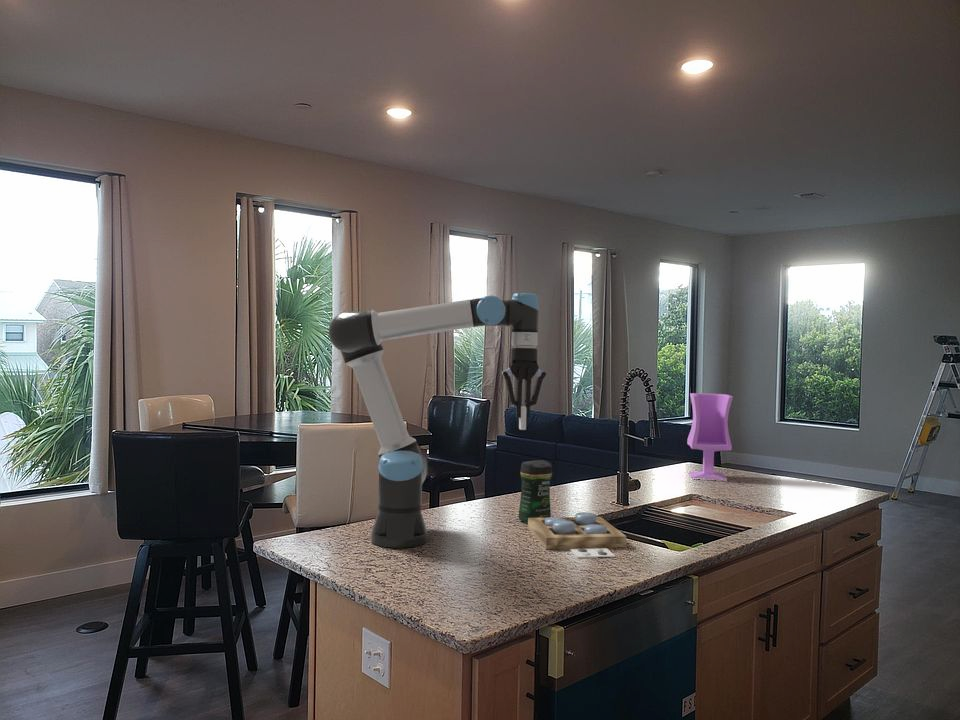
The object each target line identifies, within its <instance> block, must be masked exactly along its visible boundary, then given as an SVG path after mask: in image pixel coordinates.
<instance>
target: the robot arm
mask: <svg viewBox="0 0 960 720" xmlns="http://www.w3.org/2000/svg"><path fill="white" fill-rule="evenodd" d="M539 311H540V310H539V297H538V295H537V294H536V293H531V292H530V293H529V292H528V293H527V292H517V293H514V294H513V295H512V297H511V299H508V300H507V299H506V300H505V299H504V300H503V299H501V298H500V297H499V296H496V295H485V296H484V297H478V298H472V299H465V300H464V299H463V300H457V301H452V302H446V303H445V302H444V303H437V304H430V305H423V306H416V307H410V308H403V309H396V310H389V311H383V312H377V311H376V310H375V309H369V310H360V311H359V310H358V311H357V310H355V311H353V310H346V311H342V312H340V313H338V314H337V315H336V316H334V317H333V318H332V320H331V321H330V324H329V328H328V336H329V341H330V342H331V344H332V345H333V347H334V348H336V349H337V350H338V351H340V353H341V356H342V359H343V361H344V363H345V365H346V366H347V367H350V368H351V369H352V370H353V372H354V375H355V378H356V382H357V384H358V387H359V390H360V392H361V395H362V398H363V400H364V404H365V406H366V409H367V412H368V414H369V417H370V419H371V423H372V425H373V428H374V430H375V434H376V436H377V439H378V441H379V445H380V448H379V450H378V453H377V454H378V457H379V464H378V467H377V468H378V500H377V501H378V502H377V504H378V507H377V508H378V509H377V514H376V518H375V519H374V520H375V521H374V524H373V527H372V529H371V532H370V533H371V534H370V542H371V543H372V544H374V545H376V546H380V547H384V548H390V549H391V548H392V549H393V548H395V549H399V548H400V549H402V548H403V549H404V548H414V547H419V546H422V545H423V544H425V543H427V541H428V529H427V527H426V524H425V523H426V522H425V520H424V517H423V512H422V504H423V503H422V501H423V500H422V499H423V484H424V482H425V480H426V478H427V475H428V471H429V470H428V462H427V460H426V458H425V456H424V455H423V454H422V452H421V450H420V447H419V444H418V442H417V439H416V438H414V437H412V436H410V434H409V432H408V430H407V429H408V428H407V426H406V423H405V421H404V418H403V416H402V415H403V414H402V412H401V409H400V408H399V405H398V402H397V400H396V396H395V394H394V391H393V387H392V385H391V382H390V379H389V377H388V374H387V371H386V368H385V366H384V364H383V360H382V357H383V354H384V352H385V350H384V348H383V345H382V342H383V341H388V340H395V339H402V338H408V337H409V338H410V337H417V336H421V335H422V336H423V335H428V334H429V335H430V334H436V333H443V332H450V331H451V332H452V331H455V330H456V331H457V330H463V329H469V328H470V329H471V328H476V327H477V328H478V327H479V328H480V327H484V326H486V327H511V346H512V348H511V352H510V353H511V354H510V364H509V366H508V368H507V369H505V370H502V371H501V376H502V377H503V378H504V382H505V387H506V392H507V395H508V399H509V403H510V404H511V405H514V406H515V417H516V418H517V419H518V429H519V430H521V431H526V430H527V419H529V418H531V417H530V416H531V406H535V405H536V404H537V403H538V399H539V394H540V391H541V388H542V383H543V379H545V377H546V376H547V373H546V372H545V371H543V370H541V369H540V367H539V364H538V349H537V348H536V347H538V345H539V344H538V331H539ZM511 375H513V377H514V378H515V384H516V385H515V387H516V388H515V393H514V390H513V389H514V388H513V385H512V384H513V383H512V380H511ZM535 375H536V380H535V384H534V387H533V390H532V379H533V378H534V376H535ZM523 381H524V406H522V405H523V404H522V400H523V399H522V397H523V396H522V395H523ZM531 391H532V393H531Z"/></svg>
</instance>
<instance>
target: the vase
mask: <svg viewBox="0 0 960 720" xmlns="http://www.w3.org/2000/svg"><path fill="white" fill-rule="evenodd" d="M689 395H690V401H691V406H692V407H691V408H692V422H691V423H692V424H691V429H690V431H689V433H688V437H687V440H686V441H687V442H686V443H687V445H688V446H689V447H690V449H691V450H700V451H703V452H702V453H703V454H702V456H703V457H702V471H689V472H688V474H689V473H690V474H691V476H692V477H693V478H705V479H728V478H727V477H726V475H725V474H724V473H723V472H714V467H715V452H722V451H732V449H733V447H732V446H733V445H732V442H731V437H730V431H729V427H728V426H729V425H728V423H729V422H728V421H729V413H730V408H731V405H732V401H733V399H734V397H733V395H730V394H725V393H724V394H723V393H705V392H704V393H699V392H698V393H695V392H692V393H691V392H690V393H689ZM691 476H690V477H691Z"/></svg>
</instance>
